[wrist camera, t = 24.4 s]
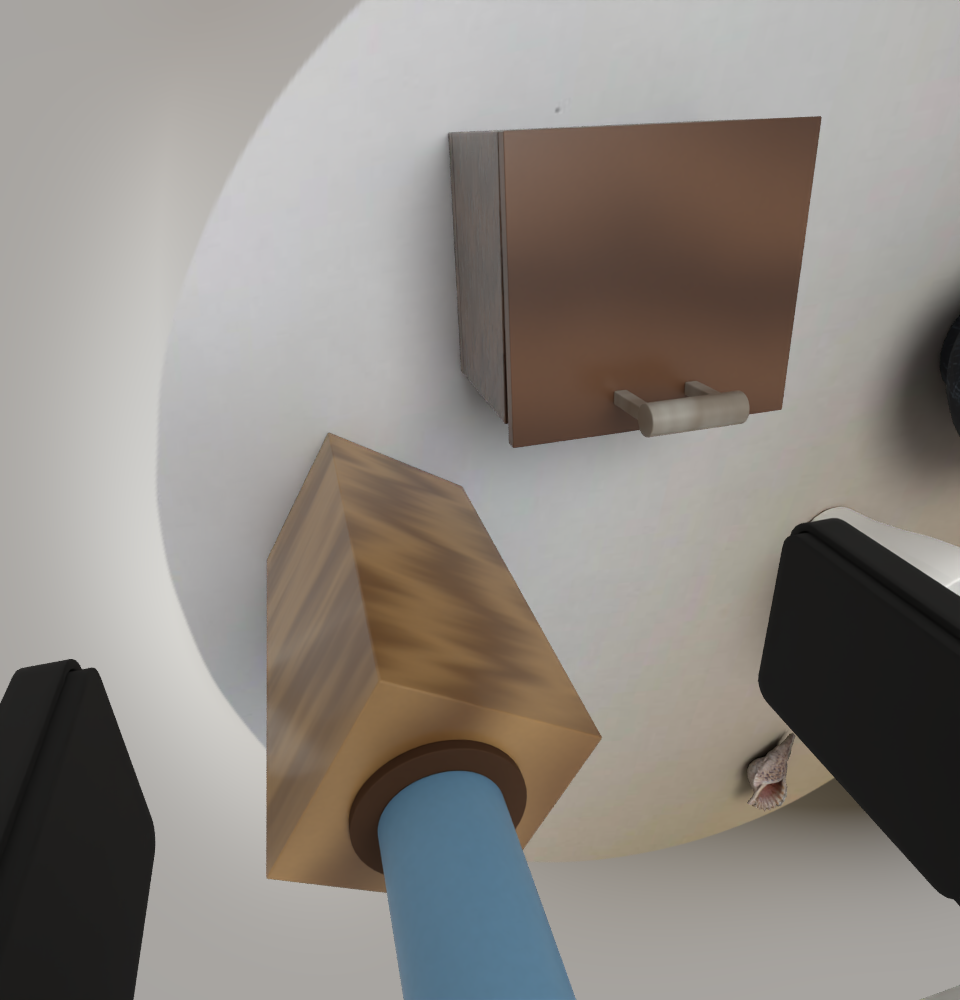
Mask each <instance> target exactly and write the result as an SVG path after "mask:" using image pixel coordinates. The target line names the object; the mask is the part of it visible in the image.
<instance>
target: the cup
mask: <svg viewBox="0 0 960 1000" xmlns="http://www.w3.org/2000/svg"><path fill="white" fill-rule="evenodd" d="M829 518H839V519H841V520H844V521H846V522H847V523H849V524H850V525H852V526H853V527H855V528H856V529H858V530H859V531H861V532H862V533H864V534H865V535H867V536H869V537H870V538H872V539H873V540H875V541H876V542H878V543H879V544H881V545H882V546H884V547H885V548H887V549H888V550H890V551H891V552H893V553H894V554H896V555H898V556H899V557H901V558H902V559H904V560H905V561H907V562H908V563H910V564H911V565H913V566H914V567H916V568H917V569H919V570H920V571H922V572H924V573H925V574H927V575H928V576H930V577H931V578H933V579H934V580H936V581H937V582H939V583H940V584H942V585H943V586H945V587H946V588H948V589H950V590H951V591H953V592H954V593H956V594H957V595H959V596H960V547H958V546H955V545H952V544H950V543H947V542H944V541H941V540H938V539H936V538H933V537H930V536H926V535H922V534H919V533H915V532H911V531H907V530H903V529H900V528H897V527H894V526H891V525H888V524H885V523H882V522H879V521H876V520H873V519H871V518H869V517H867V516H864V515H862V514H860V513H858V512H856V511H854V510H852V509H850V508H847V507H835V508H831V509H829V510H826V511H824V512H822V513H821V514H819V515H818V516H817V517H815V518H814V519H813V520H812V521H811V522H813V521H818V520H823V519H829Z"/></svg>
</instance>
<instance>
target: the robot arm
mask: <svg viewBox="0 0 960 1000" xmlns="http://www.w3.org/2000/svg"><path fill="white" fill-rule="evenodd" d="M758 682H759V687H760V691H761V693H762V695H763V697H764V699H765V700H766V702H767V703H768V704H769V705H770V706H771V707H772V709H773V710H774V711H775V712H776V713H777V714H778V715H779V716H780V717H781V719H782V720H783V721H784V722H785V723H786V724H787V725H788V726H789V727H790V729H791V730H792V731H793V732H794V733H795V734H796V735H797V736H798V737H799V739H800V740H801V741H802V742H803V743H804V744H805V745H806V746H807V747H808V749H809V750H810V751H811V752H812V753H813V754H814V755H815V756H816V757H817V759H818V760H819V761H820V762H821V763H822V764H823V765H824V766H825V767H826V769H827V770H828V771H829V772H830V773H831V774H832V775H833V776H834V777H835V779H836V780H837V781H838V782H839V783H840V784H841V785H842V786H843V787H844V788H845V790H846V791H847V792H848V793H849V794H850V795H851V796H852V797H853V798H854V800H855V801H856V802H857V803H858V804H859V805H860V806H861V807H862V809H864V811H865V812H866V813H867V814H868V815H869V816H870V817H871V819H872V820H873V821H874V822H875V823H876V824H877V825H878V826H879V827H880V829H882V831H883V832H884V833H885V834H886V835H887V836H888V837H889V839H890V840H891V841H892V842H893V843H894V844H895V845H896V846H897V847H898V848H899V850H900V851H901V852H902V853H903V854H904V855H905V856H906V857H907V859H908V860H909V861H910V862H911V863H912V864H913V865H914V866H915V867H916V868H917V870H918V871H919V872H920V873H921V874H922V875H923V876H924V877H925V879H926V880H927V881H928V882H929V883H930V884H931V885H932V886H933V887H934V888H935V889H936V890H937V891H938V892H939V893H940V894H942V895H943V896H945V897H947V898H950V899H954V900H955V901H956V902H957V903H958V905H959V906H960V596H959V595H957V594H956V593H954V592H953V591H951V590H950V589H948V588H946V587H945V586H943V585H942V584H940V583H939V582H937V581H936V580H934V579H933V578H931V577H930V576H928V575H927V574H925V573H924V572H922V571H920V570H919V569H917V568H916V567H914V566H913V565H911V564H910V563H908V562H907V561H905V560H904V559H902V558H901V557H899V556H898V555H896V554H894V553H893V552H891V551H890V550H888V549H887V548H885V547H884V546H882V545H881V544H879V543H878V542H876V541H875V540H873V539H872V538H870V537H869V536H867V535H865V534H864V533H862V532H861V531H859V530H858V529H856V528H855V527H853V526H852V525H850V524H849V523H847V522H846V521H844V520H841V519H839V518H829V519H823V520H818V521H813V522H807V523H802V524H799V525H797V526H796V527H795V528H794V529H793V530H792V532H791V535H790V536H789V537H787V538H786V540H785V541H784V544H783V547H782V552H781V558H780V563H779V568H778V574H777V579H776V585H775V590H774V595H773V601H772V606H771V611H770V617H769V622H768V628H767V633H766V638H765V644H764V649H763V654H762V660H761V665H760V671H759V677H758ZM154 855H155V832H154V825H153V821H152V818H151V815H150V812H149V809H148V807H147V804H146V801H145V798H144V796H143V793H142V790H141V787H140V785H139V782H138V779H137V776H136V774H135V771H134V768H133V765H132V763H131V760H130V757H129V754H128V751H127V749H126V746H125V743H124V740H123V738H122V735H121V732H120V729H119V727H118V724H117V721H116V718H115V716H114V713H113V710H112V707H111V705H110V702H109V699H108V696H107V694H106V691H105V688H104V685H103V683H102V680H101V677H100V675H99V673H98V671H97V670H96V669H95V668H88V669H81V667H80V665H79V663H78V662H77V661H76V660H73V659H69V660H63V661H58V662H52V663H47V664H42V665H36V666H31V667H26V668H21V669H19V670H17V671H16V672H15V674H14V675H13V677H12V679H11V681H10V683H9V686H8V688H7V690H6V692H5V695H4V697H3V699H2V701H1V703H0V1000H133V999H134V992H135V985H136V978H137V971H138V964H139V957H140V950H141V943H142V937H143V930H144V923H145V916H146V909H147V903H148V896H149V889H150V882H151V875H152V868H153V861H154ZM921 1000H960V985H959V986H956V987H954V988H951V989H948V990H945V991H943V992H940V993H937V994H935V995H932V996H929V997H926V998H923V999H921Z"/></svg>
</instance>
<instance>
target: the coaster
mask: <svg viewBox="0 0 960 1000" xmlns="http://www.w3.org/2000/svg"><path fill="white" fill-rule="evenodd" d="M447 771H469V772H474V773H478V774H481V775H483V776H485V777H487V778H489V779H490V780H492V781H493V782H494V783H495V784H496V785H497V786H498V787H499V789H500V790H501V792H502V794H503V797H504V800H505V802H506V805H507V808H508V811H509V814H510V816H511V819H512V822H513V825H514V828H515V829H516V828H517V826H518V825H519V823H520V821H521V819H522V817H523V814H524V811H525V807H526V801H527V789H526V785H525V781H524V778H523V776H522V773H521V771H520V769H519V767H518V766H517V764H516V763H515V761H514V760H513V759H512V758H511V757H510V756H509V755H508V754H506V753H505V752H503V751H502V750H500V749H498V748H496V747H494V746H492V745H489V744H486V743H483V742H478V741H472V740H446V741H440V742H434V743H430V744H426V745H423V746H420V747H417V748H414V749H411V750H409V751H407V752H405V753H403V754H401V755H399V756H397V757H395V758H394V759H392V760H390V761H389V762H387V763H386V764H385V765H383V766H382V767H380V768H379V769H378V770H377V771H376V772H375V773H374V774H373V775H371V776H370V778H369V779H368V780H367V781H366V782H365V783H364V784H363V786H362V787H361V789H360V790H359V792H358V793H357V795H356V797H355V799H354V801H353V804H352V807H351V810H350V814H349V834H350V840H351V844H352V847H353V849H354V851H355V853H356V854H357V856H358V857H359V858H360V860H361V861H362V862H364V863H365V864H366V865H367V866H368V867H370V868H371V869H373V870H374V871H377V872H379V873H381V874H383V875H384V871H383V865H382V858H381V852H380V846H379V839H378V824H379V820H380V817H381V814H382V813H383V811H384V809H385V807H386V806H387V804H388V803H389V802H390V801H391V800H392V799H393V797H394V796H395V795H397V794H398V793H399V792H400V791H401V790H403V789H404V788H405V787H407V786H408V785H410V784H412V783H414V782H415V781H417V780H420V779H422V778H424V777H427V776H430V775H433V774H437V773H441V772H447Z"/></svg>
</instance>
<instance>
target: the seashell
mask: <svg viewBox="0 0 960 1000" xmlns="http://www.w3.org/2000/svg"><path fill="white" fill-rule="evenodd" d="M794 739H795V735H794V734H793V733H792V734H789V736H788V737H787V738H786V739H785V740H784V741H783V742H782V743H781V744H780V745H778V746H776V747H775V748H774V749H773V750H771V751H769V752H768V753H767V755H766V756H765V757H762V758H758V759H756V760H753V762H752V763H751V764H750V765H749V767H748V770H747V777H748V780H749V783H750V784H751V787H752V788H753V791H754V794H753V796H752V797H751V798H750V800H749V801H748V802H747V803H748V804H751V805H752V806H755V807H756V808H759V809H763V810H764V811H765V810H766V809H768V810H770V808H775V806H776V805H777V806H781V805H782V804H783V802H784V800H785V798H786V796H787V787H786V785H787V784H786V773H787V761H788V759H789V756H790V754H791V748H792V745H793V741H794Z"/></svg>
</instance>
